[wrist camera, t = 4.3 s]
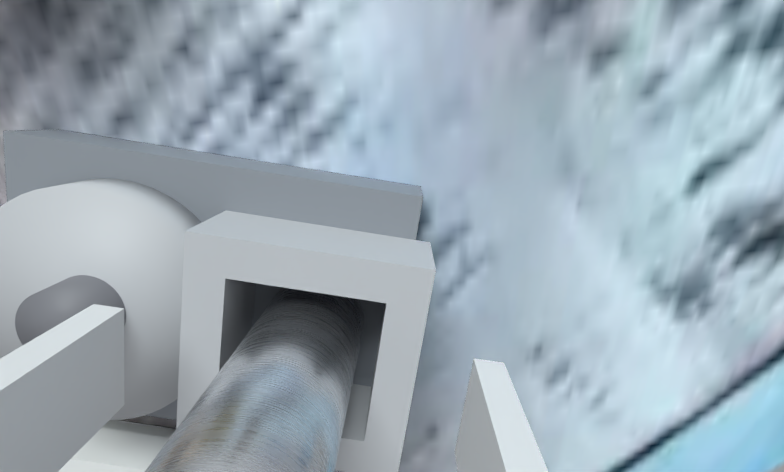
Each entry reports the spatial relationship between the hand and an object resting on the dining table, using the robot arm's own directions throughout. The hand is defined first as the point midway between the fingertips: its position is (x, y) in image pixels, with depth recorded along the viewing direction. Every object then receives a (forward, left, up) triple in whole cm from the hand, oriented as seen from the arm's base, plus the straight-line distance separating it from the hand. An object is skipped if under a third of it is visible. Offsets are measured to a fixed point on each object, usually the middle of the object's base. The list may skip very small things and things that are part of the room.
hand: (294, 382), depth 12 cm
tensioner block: (-4, -1, -7) cm, 9 cm away
